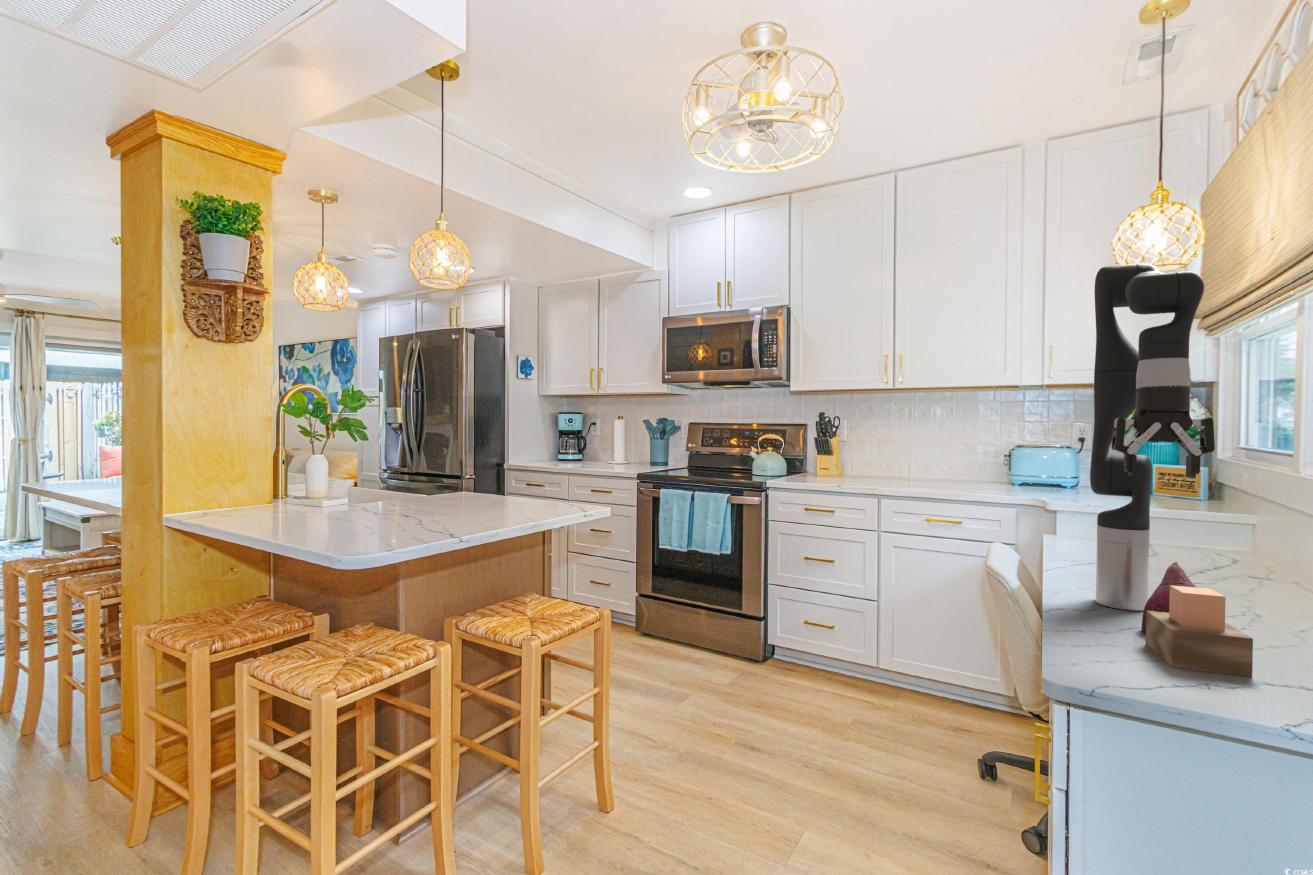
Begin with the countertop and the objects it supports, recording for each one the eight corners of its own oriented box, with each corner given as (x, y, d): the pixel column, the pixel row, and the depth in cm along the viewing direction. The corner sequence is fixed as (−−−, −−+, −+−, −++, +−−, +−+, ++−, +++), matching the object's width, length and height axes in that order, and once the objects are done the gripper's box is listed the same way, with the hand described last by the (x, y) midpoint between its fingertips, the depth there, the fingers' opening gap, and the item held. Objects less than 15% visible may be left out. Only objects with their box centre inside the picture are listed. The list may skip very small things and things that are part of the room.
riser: (1145, 643, 111) (1146, 610, 111) (1216, 652, 107) (1217, 617, 107) (1172, 667, 100) (1172, 629, 99) (1252, 677, 96) (1252, 638, 96)
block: (1169, 617, 107) (1169, 585, 107) (1209, 621, 105) (1210, 588, 105) (1182, 626, 102) (1182, 592, 102) (1224, 630, 100) (1225, 596, 99)
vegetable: (1144, 641, 122) (1134, 564, 126) (1215, 646, 115) (1201, 564, 119) (1141, 641, 114) (1130, 558, 118) (1216, 646, 108) (1202, 559, 112)
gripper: (1203, 386, 111) (1201, 476, 111) (1108, 387, 117) (1106, 473, 117) (1223, 383, 104) (1221, 479, 104) (1120, 384, 110) (1119, 475, 110)
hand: (1160, 476), depth 111 cm, fingers open, 8 cm apart
